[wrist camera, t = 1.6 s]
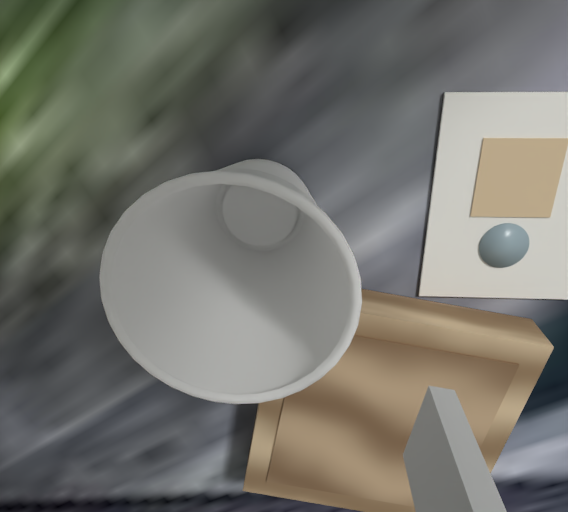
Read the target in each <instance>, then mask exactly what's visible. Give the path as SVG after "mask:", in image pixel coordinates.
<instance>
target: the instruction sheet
mask: <svg viewBox="0 0 568 512" xmlns="http://www.w3.org/2000/svg"><path fill="white" fill-rule="evenodd" d="M418 295H419V296H439V297H483V298H527V299H568V92H444V98H443V106H442V114H441V121H440V129H439V137H438V145H437V153H436V160H435V168H434V176H433V184H432V192H431V200H430V207H429V215H428V223H427V231H426V239H425V247H424V254H423V262H422V270H421V278H420V286H419V293H418Z"/></svg>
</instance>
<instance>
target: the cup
mask: <svg viewBox="0 0 568 512" xmlns="http://www.w3.org/2000/svg"><path fill="white" fill-rule="evenodd" d="M99 280H100V290H101V300H102V303H103V306H104V310H105V313H106V316H107V319H108V322H109V324H110V326H111V327H112V329H113V331H114V333H115V335H116V337H117V338H118V340H119V342H120V343H121V344H122V345H123V347H124V348H125V349H126V350H127V352H128V353H129V354H130V355H131V357H132V358H133V359H134V360H135V361H136V362H137V363H139V364H140V365H141V366H142V367H143V368H144V369H145V370H146V371H148V372H149V373H150V374H151V375H153V376H154V377H156V378H157V379H159V380H161V381H162V382H164V383H165V384H167V385H169V386H170V387H172V388H175V389H177V390H179V391H182V392H184V393H186V394H189V395H191V396H194V397H198V398H202V399H205V400H209V401H213V402H221V403H231V404H250V403H262V402H267V401H272V400H276V399H281V398H284V397H286V396H289V395H291V394H294V393H296V392H299V391H301V390H303V389H305V388H307V387H308V386H310V385H311V384H313V383H315V382H316V381H318V380H319V379H321V378H322V377H323V376H324V375H325V374H326V373H327V372H328V371H329V370H331V369H332V368H333V367H334V366H335V365H336V364H337V363H338V361H339V360H340V358H341V357H342V356H343V354H344V353H345V351H346V350H347V348H348V347H349V346H350V343H351V341H352V339H353V336H354V334H355V332H356V329H357V327H358V323H359V318H360V312H361V306H362V292H361V278H360V274H359V271H358V267H357V264H356V260H355V257H354V254H353V252H352V250H351V249H350V247H349V245H348V243H347V241H346V239H345V237H344V236H343V234H342V232H341V231H340V230H339V229H338V227H337V226H336V225H335V224H334V223H333V221H332V220H331V219H330V218H329V217H328V216H327V214H326V213H325V212H324V211H323V210H321V209H320V208H319V207H318V206H317V204H316V202H315V201H314V199H313V197H312V196H311V194H310V193H309V191H308V189H307V188H306V186H305V184H304V183H303V182H302V180H301V179H300V178H299V177H298V176H297V175H296V174H295V173H294V172H293V171H291V170H290V169H289V168H287V167H285V166H283V165H282V164H280V163H277V162H274V161H270V160H264V159H251V160H245V161H242V162H238V163H235V164H233V165H230V166H227V167H224V168H222V169H219V170H216V171H209V172H199V173H191V174H188V175H185V176H182V177H178V178H175V179H172V180H169V181H166V182H164V183H162V184H160V185H159V186H157V187H155V188H153V189H152V190H150V191H148V192H146V193H145V194H143V195H142V196H141V197H140V198H138V199H137V200H136V201H135V202H134V203H133V204H132V205H131V206H130V207H129V208H128V209H127V210H125V211H124V213H123V214H122V216H121V217H120V219H119V220H118V222H117V223H116V225H115V226H114V227H113V229H112V230H111V232H110V234H109V237H108V240H107V242H106V245H105V248H104V250H103V253H102V259H101V267H100V275H99Z"/></svg>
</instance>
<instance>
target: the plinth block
mask: <svg viewBox="0 0 568 512" xmlns="http://www.w3.org/2000/svg"><path fill="white" fill-rule="evenodd" d="M361 292H362V306H361V312H360V318H359V323H358V327H357V329H356V332H355V334H354V336H353V339H352V341H351V343H350V346H349V347H348V348H347V350H346V351H345V353H344V354H343V356H342V357H341V358H340V360H339V361H338V363H337V364H336V365H335V366H334V367H333V368H332V369H331V370H329V371H328V372H327V373H326V374H325V375H324V376H323V377H322V378H321V379H319V380H318V381H316V382H315V383H313V384H311V385H310V386H308V387H307V388H305V389H303V390H301V391H299V392H296V393H294V394H291V395H289V396H286V397H284V398H281V399H276V400H272V401H267V402H262V403H258V408H257V413H256V419H255V424H254V429H253V435H252V440H251V445H250V451H249V456H248V462H247V468H246V475H245V481H244V487H243V491H247V492H253V493H259V494H265V495H270V496H276V497H282V498H288V499H294V500H300V501H305V502H311V503H317V504H323V505H329V506H335V507H341V508H346V509H352V510H358V511H364V512H416V511H415V507H414V502H413V498H412V494H411V489H410V485H409V480H408V476H407V472H406V467H405V463H404V458H403V453H404V450H405V448H406V445H407V442H408V440H409V437H410V434H411V431H412V429H413V426H414V423H415V421H416V418H417V415H418V413H419V410H420V407H421V405H422V402H423V399H424V397H425V394H426V391H427V389H428V386H434V387H440V388H446V389H452V390H455V392H456V394H457V397H458V399H459V401H460V404H461V406H462V408H463V411H464V413H465V415H466V418H467V420H468V422H469V425H470V427H471V429H472V432H473V434H474V436H475V439H476V441H477V443H478V446H479V448H480V450H481V453H482V455H483V457H484V460H485V462H486V465H487V467H488V469H489V472H490V473H491V471H492V469H493V467H494V465H495V463H496V461H497V459H498V457H499V455H500V453H501V451H502V449H503V447H504V445H505V443H506V441H507V440H508V438H509V436H510V434H511V432H512V430H513V428H514V426H515V424H516V422H517V420H518V418H519V416H520V414H521V412H522V410H523V408H524V406H525V404H526V402H527V400H528V398H529V396H530V394H531V392H532V390H533V388H534V386H535V384H536V382H537V380H538V378H539V376H540V374H541V372H542V370H543V368H544V366H545V364H546V362H547V360H548V358H549V356H550V354H551V352H552V350H553V348H554V347H553V345H552V344H551V343H550V342H549V340H548V339H547V338H546V337H545V335H544V334H543V333H542V332H541V330H540V329H539V328H538V327H537V325H536V324H535V323H534V322H533V320H532V319H528V318H522V317H517V316H511V315H506V314H500V313H494V312H489V311H483V310H477V309H472V308H466V307H461V306H455V305H449V304H444V303H438V302H433V301H427V300H421V299H416V298H410V297H404V296H399V295H393V294H388V293H382V292H376V291H371V290H365V289H361Z"/></svg>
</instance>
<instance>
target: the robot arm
mask: <svg viewBox="0 0 568 512" xmlns="http://www.w3.org/2000/svg"><path fill="white" fill-rule="evenodd" d="M403 458H404V463H405V467H406V472H407V476H408V480H409V485H410V489H411V494H412V498H413V502H414V507H415V511H416V512H507V511H506V509H505V507H504V504H503V502H502V500H501V497H500V495H499V493H498V490H497V488H496V486H495V483H494V481H493V479H492V476H491V474H490V472H489V469H488V467H487V465H486V462H485V460H484V457H483V455H482V453H481V450H480V448H479V446H478V443H477V441H476V439H475V436H474V434H473V432H472V429H471V427H470V425H469V422H468V420H467V418H466V415H465V413H464V411H463V408H462V406H461V404H460V401H459V399H458V397H457V394H456V392H455V390H452V389H446V388H440V387H434V386H428V389H427V391H426V394H425V397H424V399H423V402H422V405H421V407H420V410H419V413H418V415H417V418H416V421H415V423H414V426H413V429H412V431H411V434H410V437H409V440H408V442H407V445H406V448H405V450H404V453H403Z"/></svg>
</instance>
